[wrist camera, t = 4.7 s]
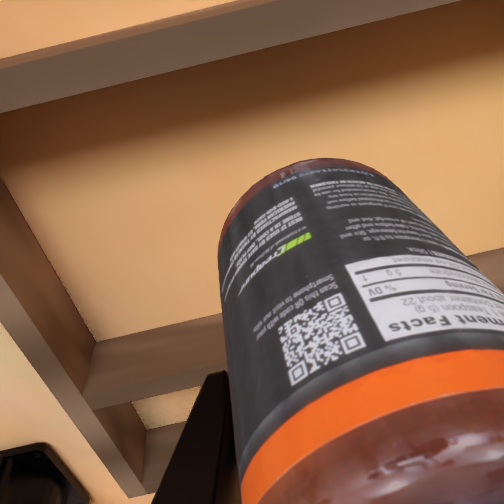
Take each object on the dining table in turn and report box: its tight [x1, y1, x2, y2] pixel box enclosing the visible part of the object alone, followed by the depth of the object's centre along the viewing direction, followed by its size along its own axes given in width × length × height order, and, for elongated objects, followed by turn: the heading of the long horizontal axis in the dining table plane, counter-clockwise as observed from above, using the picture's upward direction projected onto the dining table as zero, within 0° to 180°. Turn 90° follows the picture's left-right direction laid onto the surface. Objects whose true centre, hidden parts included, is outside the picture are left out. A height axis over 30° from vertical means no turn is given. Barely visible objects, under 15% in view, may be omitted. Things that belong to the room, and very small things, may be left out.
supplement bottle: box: [218, 158, 504, 504], centre depth 9 cm, size 6×6×11 cm
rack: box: [0, 0, 504, 498], centre depth 18 cm, size 20×22×3 cm
